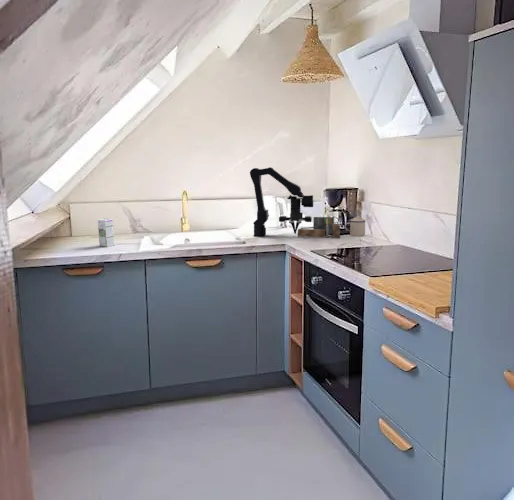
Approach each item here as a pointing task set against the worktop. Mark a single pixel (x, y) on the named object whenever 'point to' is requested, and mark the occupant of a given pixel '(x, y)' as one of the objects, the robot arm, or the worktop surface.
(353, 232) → the teacup with lid
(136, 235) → the worktop surface
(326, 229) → the gauge paddle
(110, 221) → the syrup box
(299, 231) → the walnut bar
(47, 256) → the worktop surface
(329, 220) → the gauge housing
